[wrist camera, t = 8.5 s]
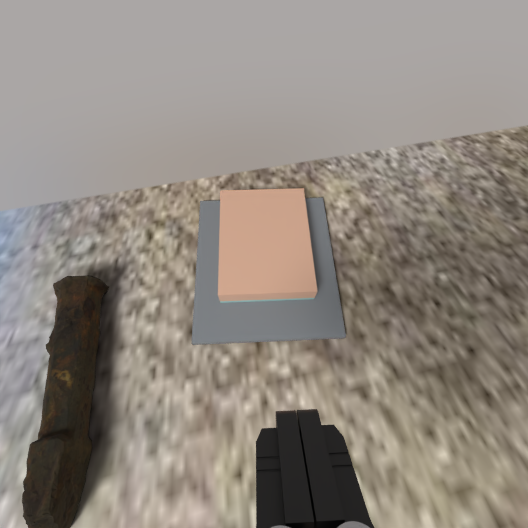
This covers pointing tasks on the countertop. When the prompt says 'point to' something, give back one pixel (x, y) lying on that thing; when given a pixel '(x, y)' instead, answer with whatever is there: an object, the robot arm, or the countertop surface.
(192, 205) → the countertop surface
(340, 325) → the mat
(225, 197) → the tile
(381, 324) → the countertop surface
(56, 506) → the hand tool
